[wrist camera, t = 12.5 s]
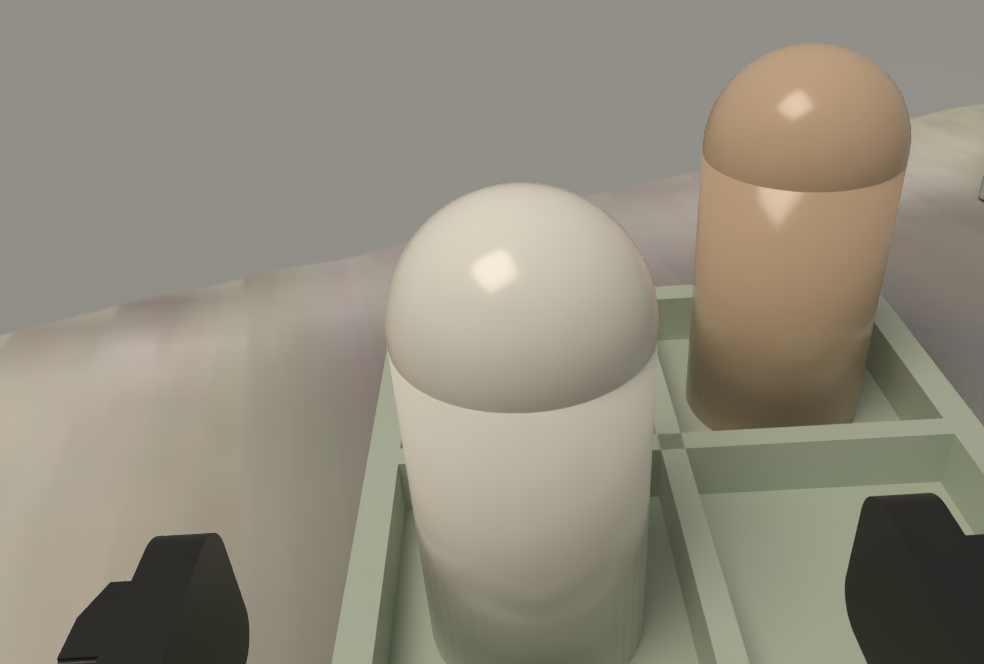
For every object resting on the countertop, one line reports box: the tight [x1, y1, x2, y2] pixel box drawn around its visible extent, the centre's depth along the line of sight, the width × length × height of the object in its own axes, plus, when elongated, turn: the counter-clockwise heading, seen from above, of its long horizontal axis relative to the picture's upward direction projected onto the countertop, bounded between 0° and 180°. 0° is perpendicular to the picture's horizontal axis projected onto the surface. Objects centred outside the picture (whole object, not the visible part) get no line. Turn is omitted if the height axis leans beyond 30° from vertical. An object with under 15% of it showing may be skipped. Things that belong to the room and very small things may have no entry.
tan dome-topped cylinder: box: [686, 43, 911, 431], centre depth 22 cm, size 5×5×10 cm
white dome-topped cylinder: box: [384, 182, 659, 664], centre depth 16 cm, size 5×5×10 cm
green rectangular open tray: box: [332, 285, 984, 664], centre depth 22 cm, size 15×15×2 cm
